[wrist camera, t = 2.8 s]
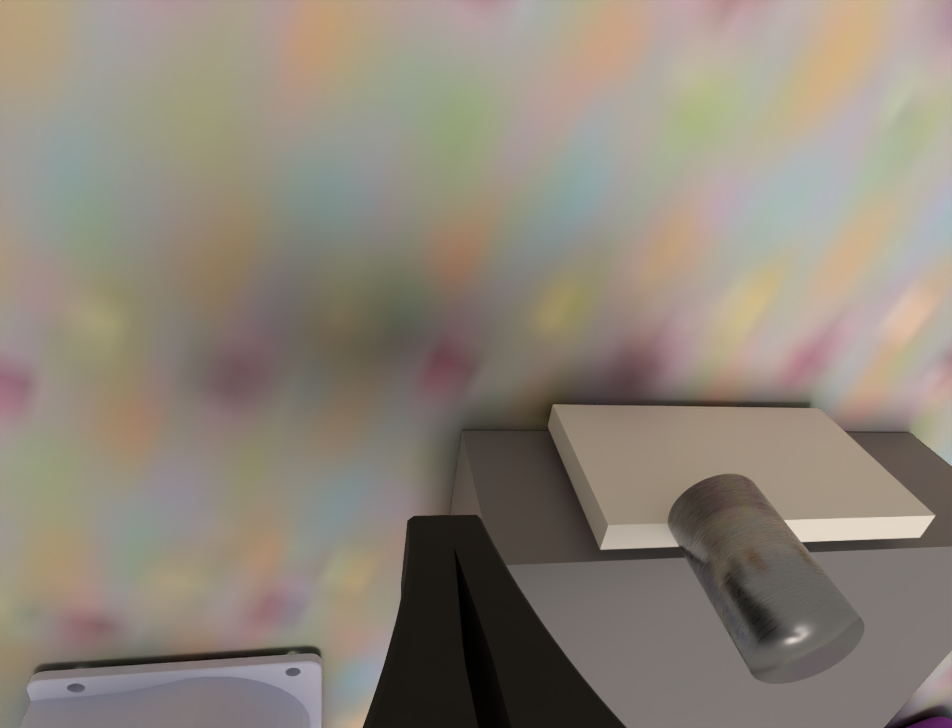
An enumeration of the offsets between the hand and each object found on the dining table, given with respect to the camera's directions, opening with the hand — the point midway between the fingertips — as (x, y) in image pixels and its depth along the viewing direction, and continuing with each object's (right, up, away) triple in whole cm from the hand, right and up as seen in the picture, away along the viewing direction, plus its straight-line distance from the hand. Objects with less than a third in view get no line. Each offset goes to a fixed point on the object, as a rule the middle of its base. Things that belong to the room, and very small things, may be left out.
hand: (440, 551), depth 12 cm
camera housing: (+7, -3, +10) cm, 13 cm away
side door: (+7, +3, +6) cm, 10 cm away
